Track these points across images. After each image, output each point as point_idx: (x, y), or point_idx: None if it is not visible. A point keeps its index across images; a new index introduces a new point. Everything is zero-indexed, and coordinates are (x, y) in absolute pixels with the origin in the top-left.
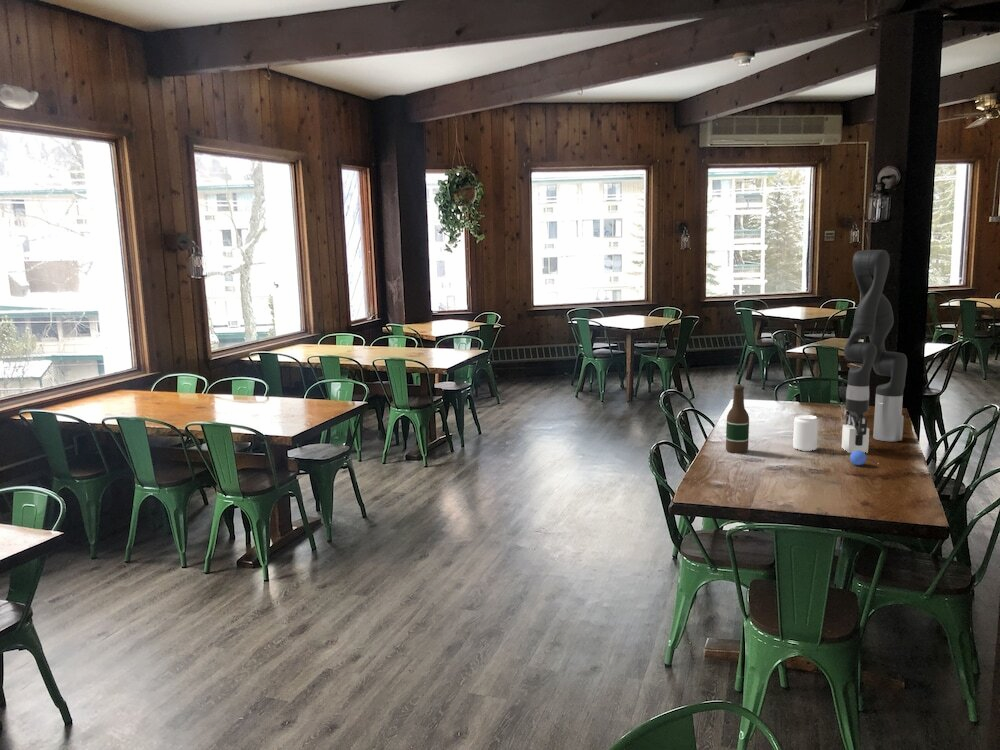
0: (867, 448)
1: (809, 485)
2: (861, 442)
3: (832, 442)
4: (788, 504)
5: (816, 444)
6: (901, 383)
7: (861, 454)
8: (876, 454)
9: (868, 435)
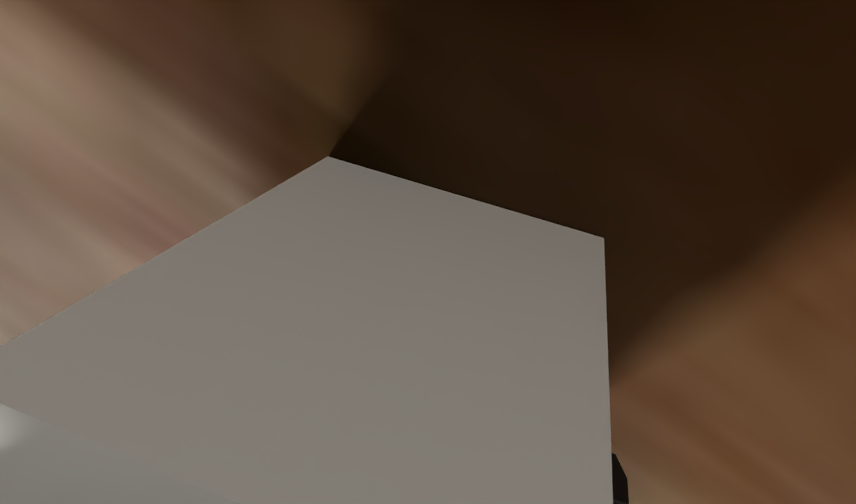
0: (599, 279)
1: None
2: (622, 496)
3: (75, 290)
4: None
5: None
6: None
7: None
8: (735, 166)
9: (604, 454)
